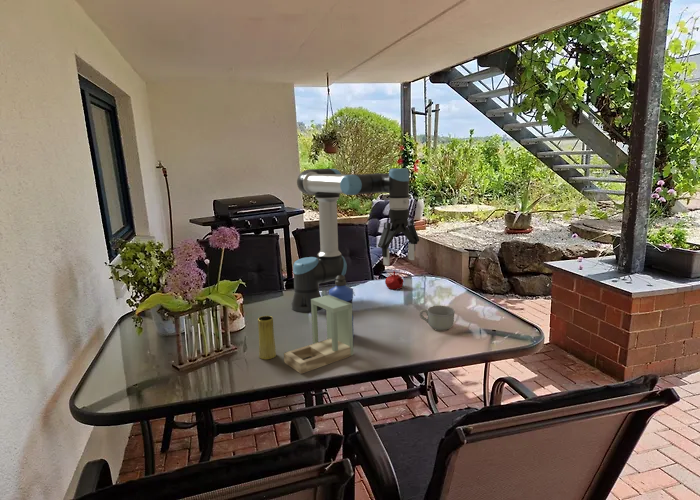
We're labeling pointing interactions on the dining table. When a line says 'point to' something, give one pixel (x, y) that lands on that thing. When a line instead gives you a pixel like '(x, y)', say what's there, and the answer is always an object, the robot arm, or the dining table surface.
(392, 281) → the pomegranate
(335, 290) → the water bottle
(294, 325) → the dining table surface
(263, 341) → the vase
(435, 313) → the teacup
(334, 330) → the pale green stool
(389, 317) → the dining table surface
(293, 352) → the socket block
